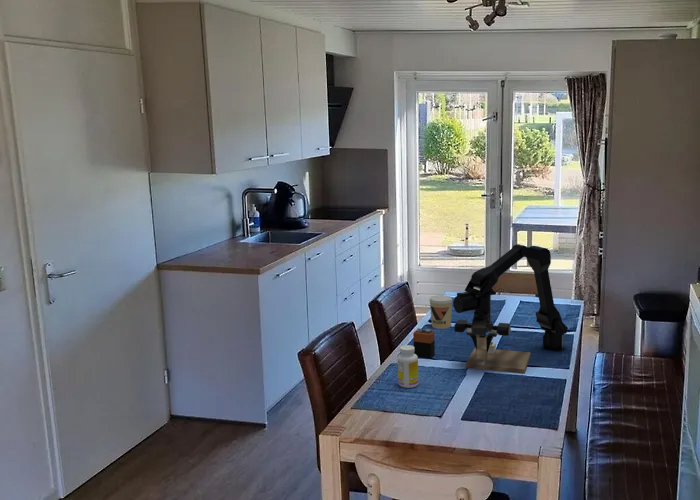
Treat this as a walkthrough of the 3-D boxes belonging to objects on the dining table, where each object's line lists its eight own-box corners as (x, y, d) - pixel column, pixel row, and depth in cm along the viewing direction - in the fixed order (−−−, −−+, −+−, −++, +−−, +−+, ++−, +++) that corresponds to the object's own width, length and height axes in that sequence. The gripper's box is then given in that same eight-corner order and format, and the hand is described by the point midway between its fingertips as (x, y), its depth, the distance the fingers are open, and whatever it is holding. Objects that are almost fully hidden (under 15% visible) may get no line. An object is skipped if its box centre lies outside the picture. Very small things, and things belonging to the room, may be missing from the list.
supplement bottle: (420, 381, 234) (419, 344, 231) (415, 389, 228) (415, 351, 225) (401, 379, 236) (400, 343, 233) (395, 387, 230) (394, 350, 227)
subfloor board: (530, 356, 253) (530, 352, 252) (524, 373, 237) (524, 369, 237) (474, 351, 260) (474, 347, 259) (465, 367, 244) (465, 363, 244)
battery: (430, 358, 255) (430, 332, 252) (413, 355, 258) (412, 329, 256) (435, 354, 258) (434, 328, 256) (418, 352, 261) (417, 326, 259)
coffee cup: (427, 328, 288) (426, 300, 286) (433, 321, 297) (432, 294, 294) (449, 330, 285) (449, 301, 282) (455, 323, 293) (454, 295, 291)
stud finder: (495, 350, 255) (495, 342, 255) (493, 354, 252) (493, 345, 251) (479, 348, 257) (479, 340, 257) (477, 352, 254) (477, 344, 253)
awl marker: (487, 356, 247) (487, 331, 245) (486, 360, 244) (486, 334, 242) (478, 356, 248) (478, 331, 246) (477, 359, 245) (476, 333, 243)
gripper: (450, 313, 238) (450, 356, 242) (506, 316, 232) (506, 361, 235) (457, 304, 249) (457, 346, 252) (511, 307, 242) (510, 350, 245)
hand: (482, 351), depth 246 cm, fingers closed on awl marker, 3 cm apart
